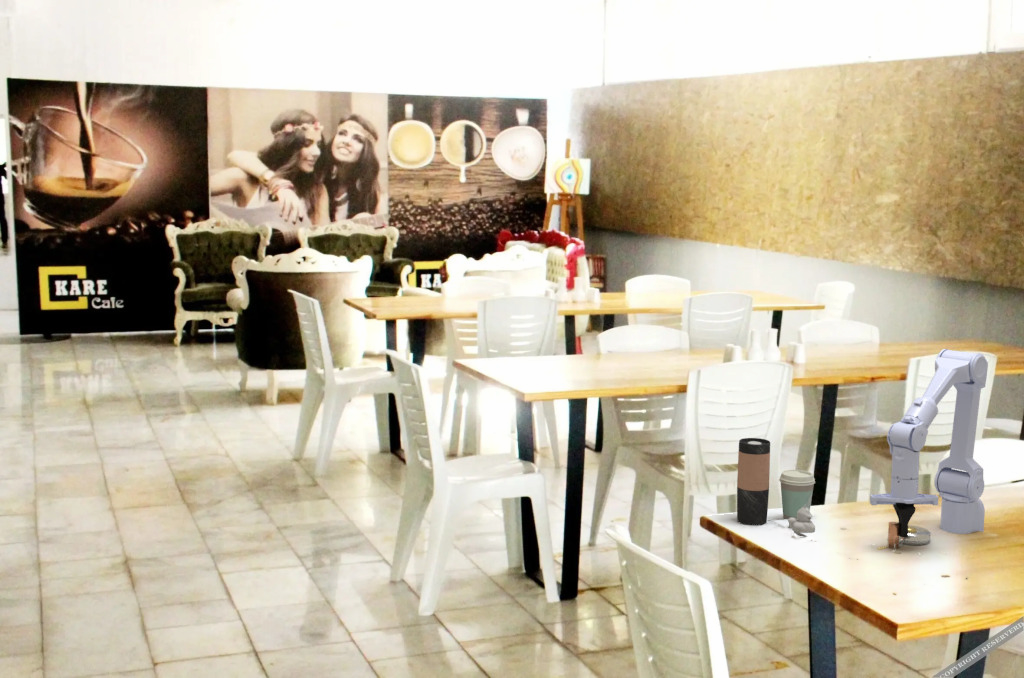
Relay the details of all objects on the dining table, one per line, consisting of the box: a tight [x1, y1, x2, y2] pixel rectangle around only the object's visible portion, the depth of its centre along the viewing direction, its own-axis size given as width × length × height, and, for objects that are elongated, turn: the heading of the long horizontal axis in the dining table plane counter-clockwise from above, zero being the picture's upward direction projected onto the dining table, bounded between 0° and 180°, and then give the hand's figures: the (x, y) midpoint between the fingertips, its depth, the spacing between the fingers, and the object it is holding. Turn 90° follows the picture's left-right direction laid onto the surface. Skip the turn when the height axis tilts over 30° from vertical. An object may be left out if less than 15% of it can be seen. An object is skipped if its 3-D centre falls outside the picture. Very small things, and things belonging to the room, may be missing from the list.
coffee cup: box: [778, 469, 816, 520], centre depth 287 cm, size 8×9×12 cm
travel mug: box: [736, 437, 771, 526], centre depth 287 cm, size 8×8×20 cm
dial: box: [886, 521, 932, 550], centre depth 267 cm, size 14×9×6 cm, turn 136°
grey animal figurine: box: [787, 504, 816, 538], centre depth 276 cm, size 5×7×8 cm
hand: (902, 535), depth 262 cm, fingers closed, pressing on dial
